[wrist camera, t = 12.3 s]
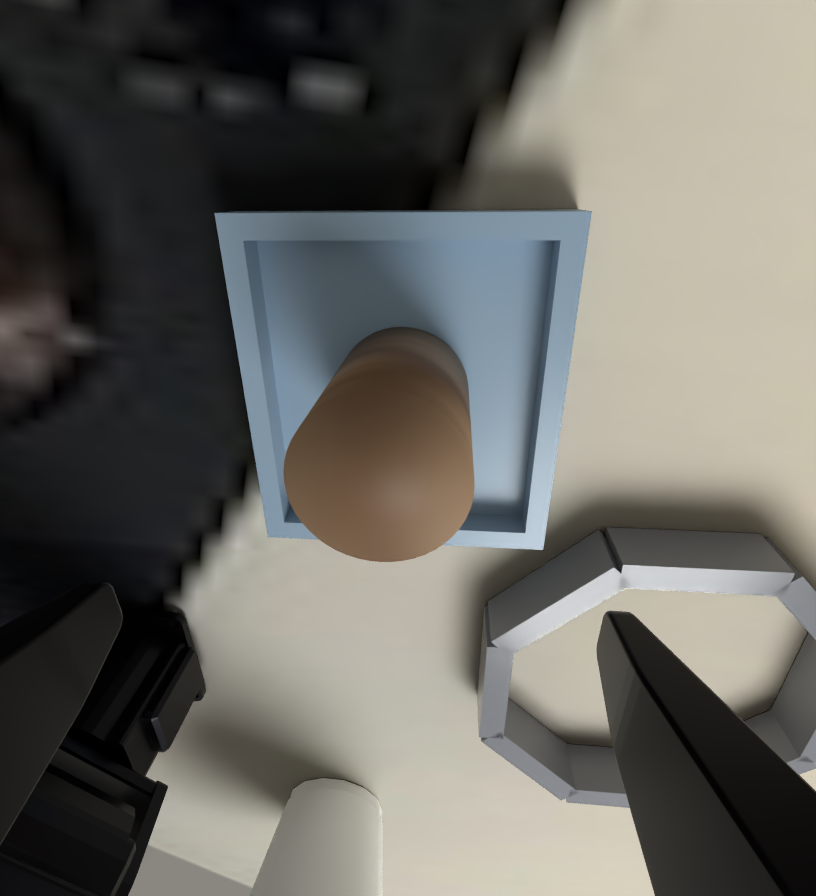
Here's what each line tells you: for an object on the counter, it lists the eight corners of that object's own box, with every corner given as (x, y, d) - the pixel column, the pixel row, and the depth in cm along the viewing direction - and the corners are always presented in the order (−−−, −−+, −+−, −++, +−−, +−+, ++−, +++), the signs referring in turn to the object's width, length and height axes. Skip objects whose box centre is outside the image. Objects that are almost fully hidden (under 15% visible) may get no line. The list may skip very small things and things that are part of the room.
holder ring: (472, 749, 30) (473, 794, 28) (491, 522, 22) (495, 558, 20) (762, 772, 29) (788, 821, 26) (885, 539, 21) (935, 579, 19)
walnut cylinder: (343, 448, 21) (294, 557, 14) (333, 326, 18) (271, 393, 12) (465, 451, 20) (470, 565, 14) (471, 327, 18) (479, 397, 12)
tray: (280, 513, 23) (268, 537, 22) (236, 211, 17) (214, 213, 16) (536, 524, 22) (543, 549, 21) (578, 209, 17) (591, 211, 15)
